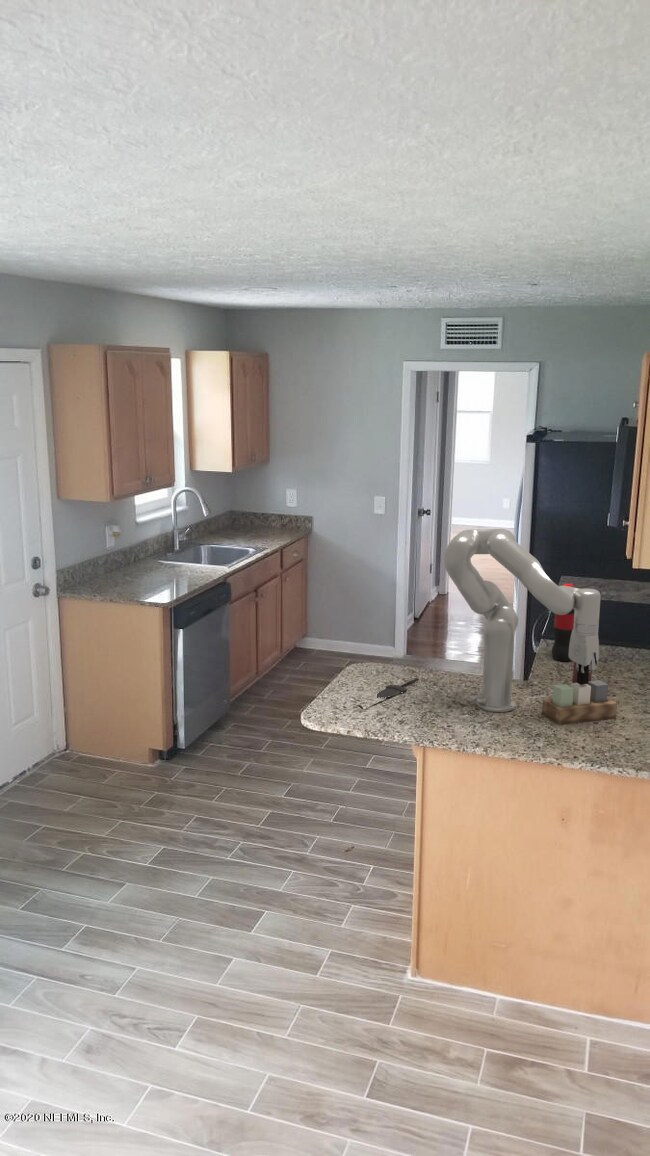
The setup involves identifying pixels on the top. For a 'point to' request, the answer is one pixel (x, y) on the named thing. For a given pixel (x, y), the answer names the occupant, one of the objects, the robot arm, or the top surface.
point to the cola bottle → (563, 634)
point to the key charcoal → (598, 691)
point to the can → (576, 675)
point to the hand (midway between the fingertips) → (582, 683)
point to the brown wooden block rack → (579, 711)
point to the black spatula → (394, 689)
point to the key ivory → (581, 693)
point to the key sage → (563, 695)
